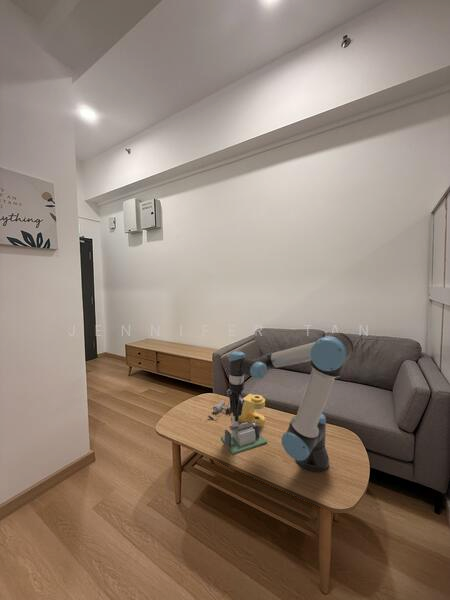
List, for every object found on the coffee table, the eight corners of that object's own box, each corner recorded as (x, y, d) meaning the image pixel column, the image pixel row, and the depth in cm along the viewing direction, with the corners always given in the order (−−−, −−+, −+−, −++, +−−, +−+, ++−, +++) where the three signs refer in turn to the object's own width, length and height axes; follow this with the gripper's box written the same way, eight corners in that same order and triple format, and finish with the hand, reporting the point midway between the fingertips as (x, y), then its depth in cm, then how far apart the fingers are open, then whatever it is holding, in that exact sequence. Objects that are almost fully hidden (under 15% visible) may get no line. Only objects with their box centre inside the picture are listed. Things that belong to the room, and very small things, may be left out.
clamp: (267, 422, 148) (267, 396, 147) (260, 429, 140) (260, 402, 139) (239, 412, 160) (239, 388, 158) (231, 418, 152) (231, 393, 151)
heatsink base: (252, 428, 141) (252, 416, 140) (267, 443, 128) (267, 429, 128) (221, 438, 132) (221, 424, 132) (232, 454, 120) (232, 439, 119)
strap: (252, 423, 134) (252, 421, 134) (256, 427, 131) (256, 425, 131) (228, 427, 128) (228, 425, 128) (231, 431, 124) (232, 429, 124)
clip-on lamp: (220, 428, 147) (235, 409, 161) (219, 419, 145) (235, 401, 159) (204, 420, 154) (221, 402, 168) (203, 411, 152) (220, 395, 166)
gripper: (249, 385, 122) (247, 431, 124) (237, 376, 134) (235, 418, 135) (236, 388, 119) (234, 434, 120) (224, 378, 131) (223, 421, 132)
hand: (235, 425), depth 128 cm, fingers closed
